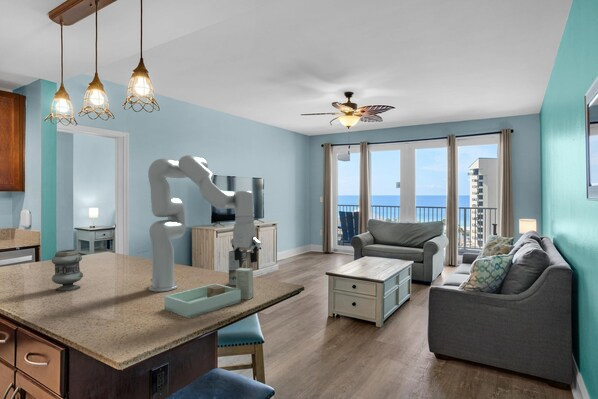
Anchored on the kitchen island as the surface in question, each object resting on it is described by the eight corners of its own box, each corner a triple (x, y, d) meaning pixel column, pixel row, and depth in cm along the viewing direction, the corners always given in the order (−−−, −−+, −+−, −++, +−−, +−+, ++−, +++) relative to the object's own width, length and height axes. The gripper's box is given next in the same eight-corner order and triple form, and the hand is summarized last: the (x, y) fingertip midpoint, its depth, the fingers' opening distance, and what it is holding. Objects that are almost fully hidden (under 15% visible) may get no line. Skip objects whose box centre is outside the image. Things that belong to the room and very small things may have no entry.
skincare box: (253, 297, 150) (253, 268, 150) (249, 299, 146) (248, 270, 146) (240, 295, 152) (240, 267, 152) (235, 298, 148) (235, 269, 148)
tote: (164, 309, 135) (164, 295, 135) (215, 295, 153) (215, 283, 153) (189, 318, 125) (189, 303, 125) (240, 301, 143) (240, 289, 143)
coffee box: (241, 285, 169) (240, 252, 169) (228, 285, 170) (228, 251, 170) (247, 281, 178) (247, 249, 178) (235, 280, 179) (235, 248, 179)
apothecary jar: (48, 289, 164) (48, 250, 163) (78, 284, 172) (78, 247, 172) (55, 294, 155) (55, 253, 155) (86, 288, 164) (86, 250, 164)
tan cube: (207, 299, 143) (207, 287, 143) (217, 296, 147) (217, 284, 147) (215, 301, 140) (214, 289, 140) (225, 298, 144) (224, 286, 144)
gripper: (224, 220, 151) (225, 260, 151) (252, 221, 140) (253, 264, 140) (237, 219, 157) (238, 257, 157) (265, 220, 146) (266, 261, 146)
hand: (245, 261), depth 149 cm, fingers open, 9 cm apart
